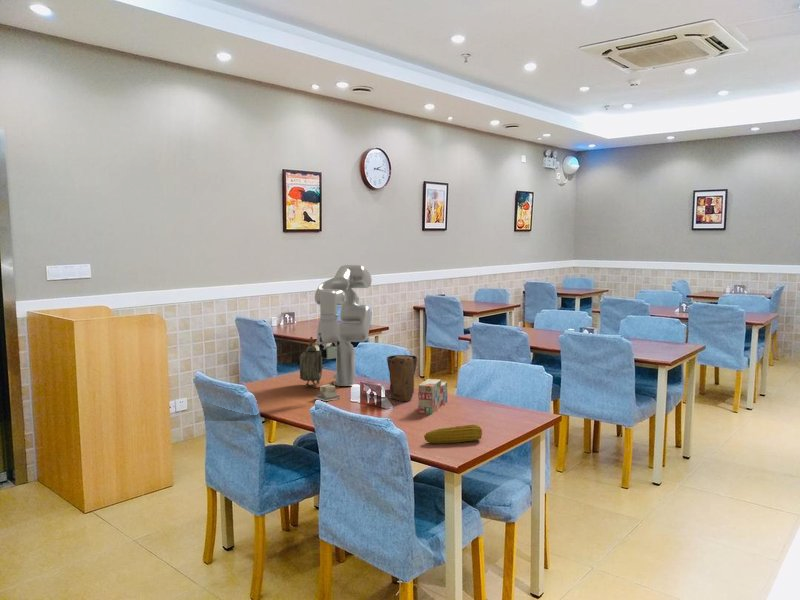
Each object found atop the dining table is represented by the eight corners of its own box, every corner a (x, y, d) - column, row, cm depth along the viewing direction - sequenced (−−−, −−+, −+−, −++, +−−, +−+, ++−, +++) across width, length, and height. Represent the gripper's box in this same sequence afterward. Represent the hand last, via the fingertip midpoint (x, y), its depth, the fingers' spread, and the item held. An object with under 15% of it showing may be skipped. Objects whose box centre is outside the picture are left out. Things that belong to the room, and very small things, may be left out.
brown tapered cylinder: (415, 399, 267) (415, 356, 266) (405, 402, 261) (405, 358, 260) (397, 395, 274) (397, 353, 272) (387, 399, 268) (386, 356, 266)
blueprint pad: (315, 398, 269) (315, 395, 269) (329, 395, 274) (329, 392, 274) (325, 402, 263) (325, 398, 263) (339, 398, 268) (339, 395, 268)
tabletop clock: (318, 389, 286) (317, 339, 284) (299, 389, 286) (298, 339, 284) (322, 383, 301) (321, 335, 299) (304, 383, 301) (303, 335, 299)
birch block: (320, 396, 269) (320, 386, 268) (328, 394, 272) (328, 384, 272) (326, 398, 265) (326, 387, 265) (335, 396, 268) (335, 386, 268)
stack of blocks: (434, 400, 265) (434, 374, 264) (447, 402, 263) (447, 375, 262) (418, 413, 245) (418, 384, 244) (432, 414, 243) (432, 385, 242)
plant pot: (382, 392, 281) (382, 359, 280) (392, 385, 295) (392, 354, 294) (412, 394, 277) (412, 361, 275) (421, 387, 291) (421, 355, 289)
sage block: (321, 357, 267) (321, 347, 267) (330, 356, 270) (330, 345, 270) (328, 359, 263) (328, 348, 263) (336, 357, 267) (336, 347, 267)
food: (478, 437, 213) (478, 422, 213) (483, 442, 208) (483, 426, 207) (422, 442, 208) (422, 426, 208) (426, 447, 203) (426, 430, 202)
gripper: (338, 315, 274) (338, 354, 276) (308, 318, 262) (308, 358, 264) (348, 316, 269) (348, 355, 270) (318, 319, 257) (319, 360, 258)
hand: (329, 356), depth 267 cm, fingers closed on sage block, 5 cm apart
